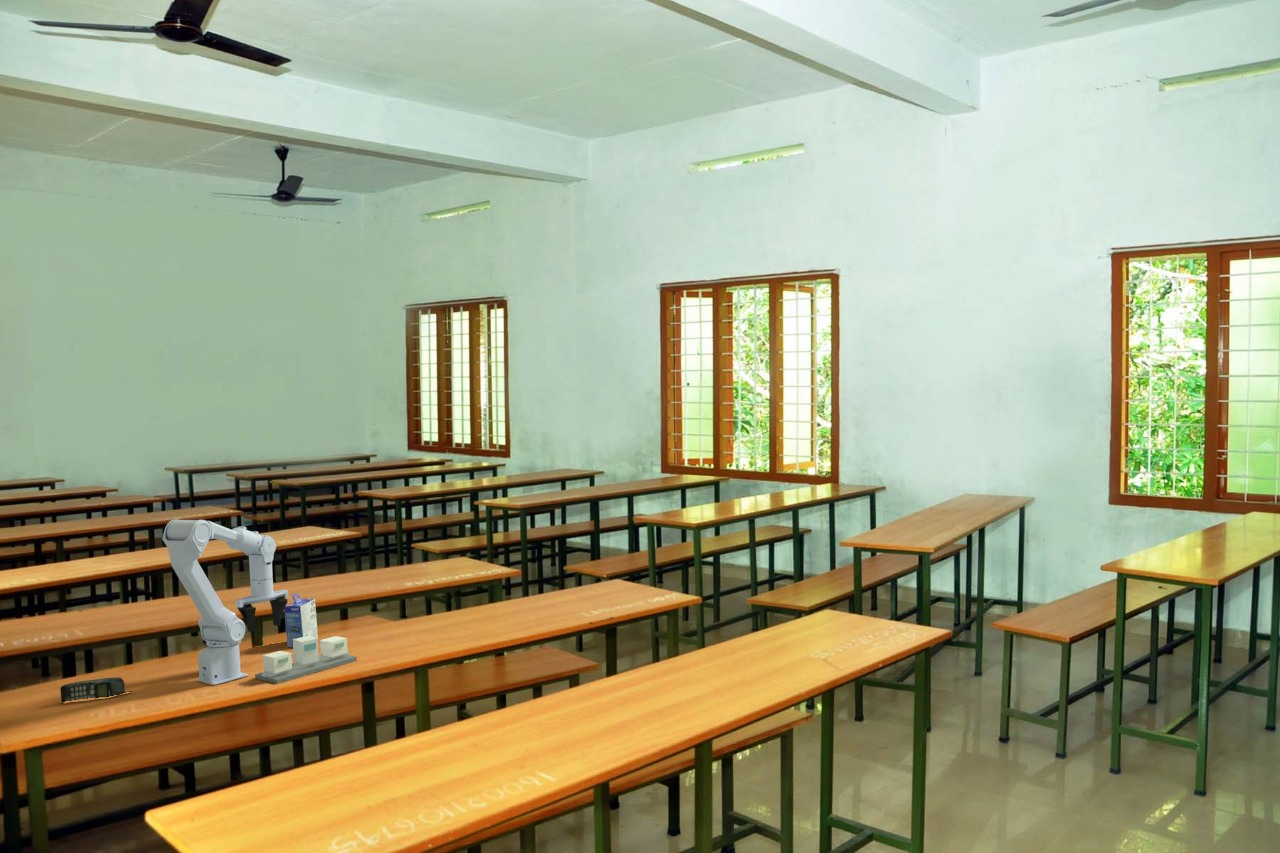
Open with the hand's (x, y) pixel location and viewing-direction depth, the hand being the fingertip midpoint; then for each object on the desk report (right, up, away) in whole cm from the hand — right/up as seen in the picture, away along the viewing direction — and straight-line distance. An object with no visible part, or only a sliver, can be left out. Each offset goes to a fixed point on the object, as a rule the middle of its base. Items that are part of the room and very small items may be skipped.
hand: (264, 628), depth 265 cm
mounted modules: (+14, -7, -8) cm, 18 cm away
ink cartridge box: (+3, -9, +21) cm, 23 cm away
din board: (+14, -9, -8) cm, 19 cm away
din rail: (+14, -9, -8) cm, 19 cm away
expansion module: (+14, -7, -8) cm, 17 cm away
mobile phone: (-31, -12, -27) cm, 42 cm away
